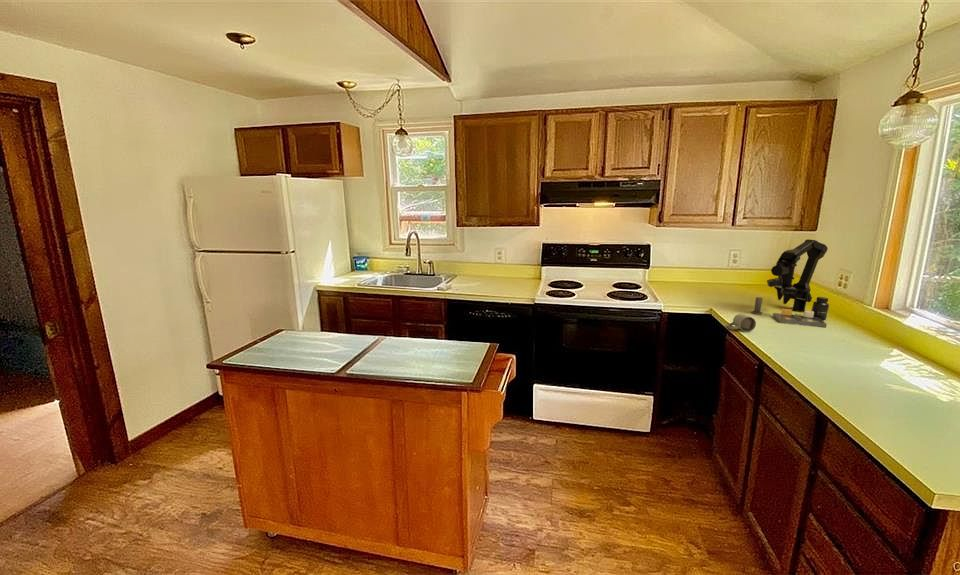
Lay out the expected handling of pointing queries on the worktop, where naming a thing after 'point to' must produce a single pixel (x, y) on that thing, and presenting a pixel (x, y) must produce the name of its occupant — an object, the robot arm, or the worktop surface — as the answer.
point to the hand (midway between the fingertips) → (781, 301)
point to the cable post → (757, 306)
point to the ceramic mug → (743, 323)
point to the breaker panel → (799, 320)
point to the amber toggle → (786, 312)
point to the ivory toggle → (808, 314)
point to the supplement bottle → (820, 308)
